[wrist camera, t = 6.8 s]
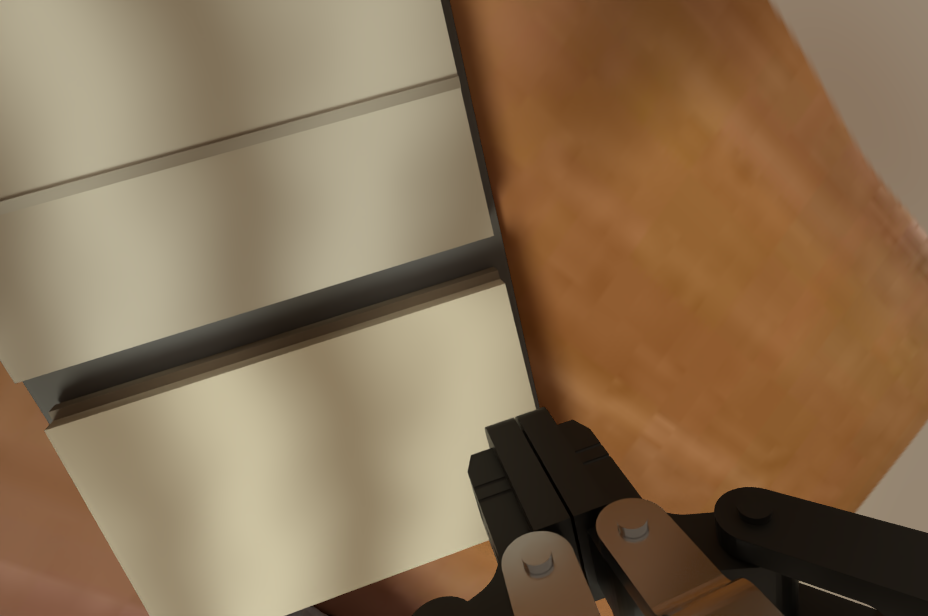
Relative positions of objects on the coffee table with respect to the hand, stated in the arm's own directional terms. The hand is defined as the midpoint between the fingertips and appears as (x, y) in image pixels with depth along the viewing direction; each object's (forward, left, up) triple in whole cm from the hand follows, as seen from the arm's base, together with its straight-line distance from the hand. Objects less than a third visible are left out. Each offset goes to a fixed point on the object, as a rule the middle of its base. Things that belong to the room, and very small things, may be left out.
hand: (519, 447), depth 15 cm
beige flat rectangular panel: (-5, -3, -7) cm, 9 cm away
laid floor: (-5, +2, -7) cm, 9 cm away
